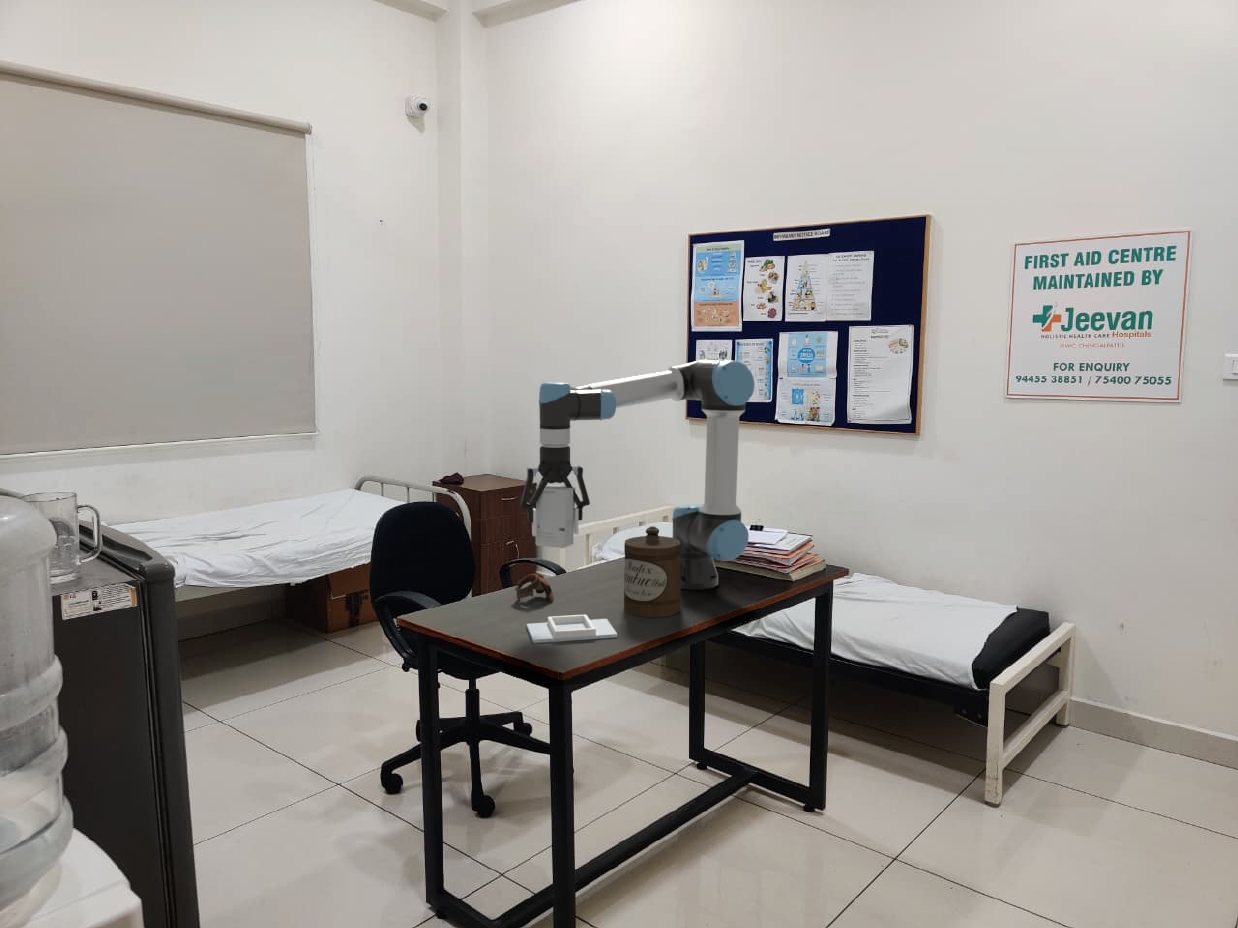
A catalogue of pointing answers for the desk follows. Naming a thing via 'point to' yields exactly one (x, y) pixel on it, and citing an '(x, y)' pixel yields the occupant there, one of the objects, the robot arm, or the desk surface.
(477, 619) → the desk surface
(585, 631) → the white box stand
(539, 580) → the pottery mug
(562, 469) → the robot arm
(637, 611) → the wooden container
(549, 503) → the skincare box
